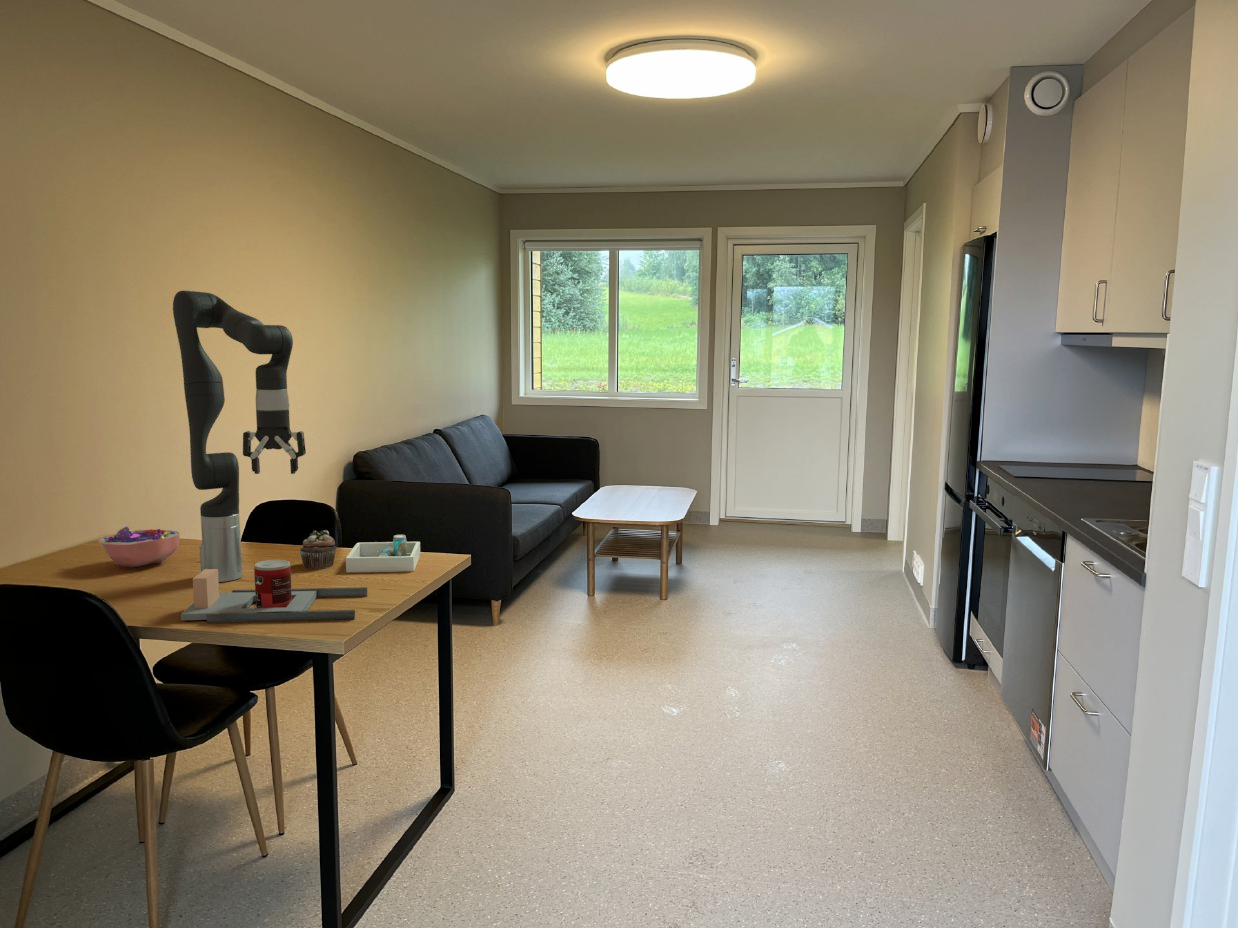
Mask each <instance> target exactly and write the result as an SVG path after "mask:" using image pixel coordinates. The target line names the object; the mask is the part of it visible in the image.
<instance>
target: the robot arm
mask: <svg viewBox="0 0 1238 928" xmlns="http://www.w3.org/2000/svg"><path fill="white" fill-rule="evenodd" d="M172 314H173V319H174V320H173V321H174V326H175V329H176V337H177V341H178V345H179V352H180V357H181V366H182V376H183V389H184V397H185V398H184V399H185V406H186V413H187V419H188V430H189V443H190V444H189V447H190V448H189V449H190V469H191V471H190V472H191V479H192V483H193V485H194V487H195V488H196V489H197V490H199V491H200V490H201V491H205V490H218V489H221V492H219V493H218V494H217V495H216V496H215V497H213V498H211V499H209V500H207V501H204V502H203V503H201V504H200V506H199V507H200V508H199V509H200V512H199V513H200V527H201V529H200V530H201V543H200V545H199V561H200V562H199V563H200V572H202V571H203V570H204V569H218V580H219V583H221V582H223V583H224V582H229V581H235V580H238V579H240V578H242V577H243V563H242V562H243V561H242V543H241V542H242V541H241V540H242V539H241V523H240V466H239V460H238V457H237V456H236V454H234V453H233V452H228V451H227V452H214V453H207V442H208V438H209V434H210V432H211V429H212V428H213V426H214V425H215V423H216V421H217V419H218V418H219V415H220V414H221V413H222V410H223V408H224V405H225V401H226V400H225V399H226V397H225V387H224V381H223V376H222V374H221V372H220V370H219V369H218V367H217V365H216V364H215V363H214V361H212V359H211V358H210V356H209V355H208V353H207V352H206V351H205V349H204V347H203V346H202V343H201V340H200V337H199V336H200V335H199V332H198V328H200V329H211V328H214V329H222V331H223V332H224V334H225V335H226V336H227V337H228V338H230V339H232V340H233V341H236V342H239V343H240V344H242V345H243V347H245V348H246V349H247V351H249V352H250V353H253V354H254V355H255V354H256V355H271V357H270V360H269V361H268V362H267V363H263V364H260V365H257V367H256V368H255V390H256V391H255V414H256V415H255V416H256V419H255V420H256V431H250V430H247V431H244V432H243V434H242V455H243V456H244V457H248V458H250V460H251V470H252V472H254V474H255V475H258V474H260V473H261V466H260V464H261V463H260V457H259V456H260V455H261V454H262V452H263V451H264V450H273V449H274V450H284V452H286V453H287V454H288V456H290V459H289V463H290V474H291V475H295V474H296V473H297V472H298V471H299V458H301V457H303V456H305V455H306V442H305V433H304V431H302V430H300V431H292V430H291V428H290V427H291V424H290V422H291V421H290V399H289V394H288V383H287V382H288V380H287V379H288V378H287V374H288V373H287V371H288V366H289V363H290V358H291V354H292V350H293V345H294V339H293V334H292V332H291V331H290V329H289V328H288V327H287V326H285V325H282V324H264V323H263V322H262V321H261V320H259V319H258V318H256V317H253V316H252V315H249V314H246V313H244V312H242V311H239V310H237V309H235V308H234V307H232V306H231V305H229V304H228V303H227V302H226V301H225V300H224V299H222V298H220V297H219V296H217V295H216V294H213V293H210V292H206V291H205V292H204V291H202V292H201V291H195V290H180V291H179V290H178V291H177V292H176V293H175V294H174V297H173V300H172ZM254 438H256V439H257V441H258V442H259V443H258V445H257V446H256V447H255V449H254V450H253V451H252V441H253V440H254ZM291 438H293V439H294V441H296V444H297V450H296V449H294V447H293V445H292V443H290V440H291Z"/></svg>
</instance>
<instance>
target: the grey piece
mask: <svg viewBox="0 0 1238 928" xmlns="http://www.w3.org/2000/svg"><path fill="white" fill-rule="evenodd" d="M219 584H220V582H219V580H218V569H204V570H203V571H202V572H201V571H200V573H198V574H197V575H195V576H194V577H193V578H192V589H193V590H192V591H193V602H192V603H191V605H190V606H189V607H187V608H186V609H185V610H184V611H182V612H181V613H180V620H181V621H205V620H206V621H207V614H208V613H234V612H275V611H308V609H309V608H310V607H311V605H312V604H313V603H314V601H315V599H316V598H318V597H317V593H316V591H291V593H292V601H291V602H290V603H289V605H288V606H287V607H284V608H255V607H251V608H250V606H251V605H252V604H254V602H255V603H256V594H255V592H235V593H232V592H220V585H219Z"/></svg>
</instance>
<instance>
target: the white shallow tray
mask: <svg viewBox="0 0 1238 928" xmlns="http://www.w3.org/2000/svg"><path fill="white" fill-rule="evenodd" d="M406 542H407V553H411V554H407V556H394V557H378V555H379V553H380V552H381V551H382V550H383V549H384V548H386V547H392V548H393V541H386V542H385V541H383V542H382V541H381V542H378V541H374V542H372V541H371V542H357V543H356V544H355V545H354V546H353V547H352V549H351V551H350V552H349V553H348V554H347V556H346V557H345V573H385V572H387V573H389V572H390V573H391V572H393V573H394V572H397V573H398V572H414V571H415V570H416V567H417V564H418V562H419V560H420V557H421V541H406ZM377 551H378V552H377ZM419 554H420V555H419Z"/></svg>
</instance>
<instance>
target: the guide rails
mask: <svg viewBox="0 0 1238 928" xmlns="http://www.w3.org/2000/svg"><path fill="white" fill-rule="evenodd" d="M368 590H369V589H368V586H365V587H363V586H362V587H361V586H360V587H355V586H354V587H315V588H314V587H313V588H311V587H310V588H309V587H307V588H291V591H316V593H317V597H316V598H336V597H337V598H338V597H341V598H343V597H346V598H347V597H368V595H369V593H368ZM235 592H255V589H233V590H231V593H235ZM355 619H356V609H331V610H330V609H325V610H323V609H322V610H320V609H319V610H307V611H275V612H234V613H208V614H207V620H206V623H207V624H223V623H224V624H225V623H229V624H230V623H262V622H263V623H265V622H268V623H271V622H299V621H301V622H302V621H303V622H305V621H340V620H341V621H345V620H346V621H348V620H355Z"/></svg>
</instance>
